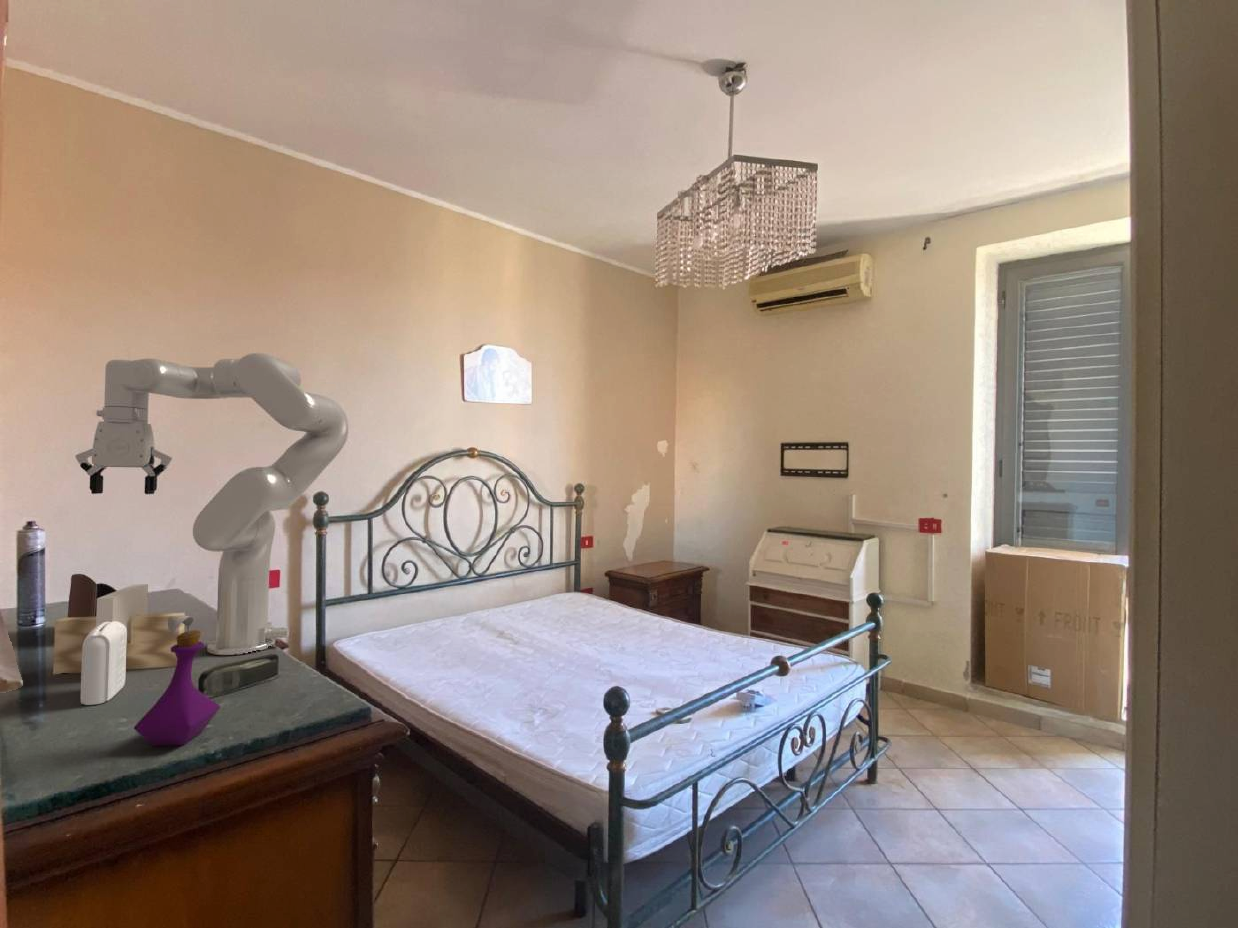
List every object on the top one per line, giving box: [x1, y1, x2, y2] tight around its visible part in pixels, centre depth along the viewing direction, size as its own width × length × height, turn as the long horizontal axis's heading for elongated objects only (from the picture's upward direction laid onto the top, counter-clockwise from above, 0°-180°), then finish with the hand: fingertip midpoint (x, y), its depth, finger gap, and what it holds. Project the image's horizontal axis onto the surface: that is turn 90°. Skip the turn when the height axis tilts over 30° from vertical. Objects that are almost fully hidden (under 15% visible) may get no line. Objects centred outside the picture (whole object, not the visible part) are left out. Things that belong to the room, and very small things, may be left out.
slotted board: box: [52, 612, 186, 675], centre depth 116 cm, size 20×2×10 cm, turn 107°
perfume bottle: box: [133, 615, 221, 747], centre depth 86 cm, size 8×8×18 cm
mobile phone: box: [197, 653, 279, 699], centre depth 106 cm, size 5×3×15 cm
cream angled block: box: [96, 583, 149, 643], centre depth 116 cm, size 14×2×15 cm, turn 18°
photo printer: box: [80, 621, 127, 706], centre depth 102 cm, size 10×4×12 cm, turn 26°
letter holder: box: [67, 573, 118, 618], centre depth 141 cm, size 10×20×14 cm, turn 54°
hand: (123, 493), depth 131 cm, fingers open, 9 cm apart
